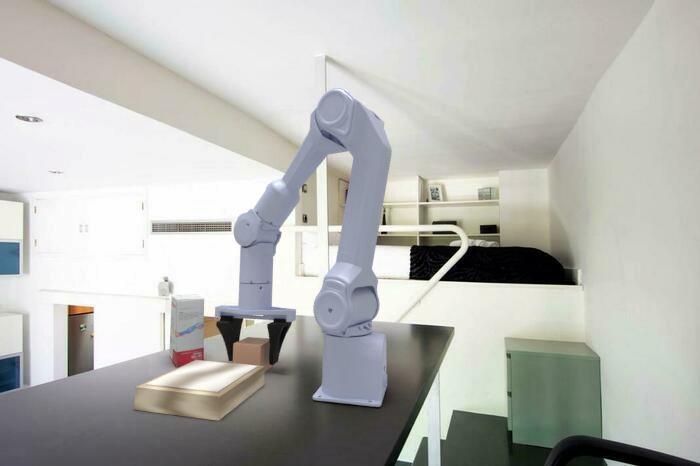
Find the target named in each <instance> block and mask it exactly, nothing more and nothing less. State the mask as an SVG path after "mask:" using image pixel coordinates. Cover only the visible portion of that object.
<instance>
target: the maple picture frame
mask: <svg viewBox="0 0 700 466" xmlns="http://www.w3.org/2000/svg"><path fill="white" fill-rule="evenodd" d="M264 371H265V366H258V365H247V364H235V363H233V362H224V361H223V362H222V361H214V360H213V361H212V360H204V361H202V360H195V361H193V362H190V363H188V364H186V365H184V366H179V367H177V368H175V369H173V370H171V371H168V372H166V373H164V374H162V375H161V374H160V375H158V376H157V377H155V378H152V379H151V380H148V381H147V382H143V383H142V384H140V385H136V386H135V388H134V403H133V405H134V407H133V410H134V411H141V412H149V413H154V414H155V413H156V414H165V415H172V416H178V417H179V416H180V417H187V418H196V419H202V420H211V421H217V422H218V421H220V420H222V419H223V418H225V416H227V415H228V414H229V413H230V412H232V411H233V410H234V409H235V408H237V407H238V406H240V405H241V404H242V403H243V402H244V401H246V400H247V399H248V398H249V397H251V396H252V395H254V393H256V392H257V391H258V390H259V389H261V388H262V387H264V386H265V373H264Z"/></svg>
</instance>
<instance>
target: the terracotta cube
mask: <svg viewBox="0 0 700 466" xmlns="http://www.w3.org/2000/svg"><path fill="white" fill-rule="evenodd" d="M269 349H270V344H269V337H268V338H266V337H254V336H247V337H245V338H243V339H240V340H239V341H238V342H236V343H234V344H233V361H232V363H235V364H247V365H258V366H265V371H264V374H265V373H266V372H268V370H270V369H272V368H273V367H274V365H269Z"/></svg>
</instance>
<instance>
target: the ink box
mask: <svg viewBox="0 0 700 466" xmlns="http://www.w3.org/2000/svg"><path fill="white" fill-rule="evenodd" d="M170 305H171V306H170V329H169V331H170V333H169V357H170V359H171V361H172V363H174V366H175V367H177V368H179V367H181V366H184V365H186V364H188V363H190V362H193V361H195V360H202V361H205V353H204V351H205V342H204V341H205V339H204V338H205V331H204V330H205V298H204V297H202V296H200V295H199V294H195V293H194V294H178V295H177V294H176V295H171V304H170Z"/></svg>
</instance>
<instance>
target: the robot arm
mask: <svg viewBox="0 0 700 466" xmlns="http://www.w3.org/2000/svg"><path fill="white" fill-rule="evenodd" d="M309 119H310V120H309V131H308V132H307V134H306V136H305V138H304V140H303V141H302V143H301V144H300V146H299V148H298V150H297V152H296V153H295V155H294V157H293V158H292V161H291V162H290V164H289V166H288V167H287V169H286V171H285V172H284V175H283V176H282V177H281V178H277V179H273V180H271V182H270V183H268V184H267V186H266V188H265V190H264V192H263V194H262V195H261V196H260V198H259V199H258V201H257V203H256V204H255V205H254V207H253V208H249V210H248V211H247V212H242V213H241V214H239V216H238V217H237V219H236V221H235V223H234V226H233V236H234V240H235V243H236V244H238V245H239V246H240V252H239V253H240V254H239V276H238V277H239V280H238V284H239V285H238V300H237V301H238V305H227V304H226V305H225V304H224V305H222V304H220V305H216V306H214V318H216V319H219V320H218V321H217V320H216V322H215V325H216V328H217V330H218V331H219V333H220V336H221V337H222V339H223V342H224V345H225V351H226V355H227V359H228V362H233V344H234V343H236V342H238V341H240V340H241V330H242V326H243V322H244V319H248V320H262V321H263V320H264V321H272V322H269V323H267V324H266V328H267V332H268V333H267V334H268V338H269V344H270V349H269V365H273V366H274V365H276V364H277V363H278V362H279V358H280V354H281V350H282V346H283V343H284V341H285V338H286V335H287V333H288V332H289V329H290V328H291V326H292V324H293V322H294V321H295V322H296V320H297V319H296V317H297V308H287V307H278V306H273V282H274V281H273V279H274V278H273V276H274V257H275V255H276V254H277V253H276V252H277V245H278V244H279V242H280V241H281V237H282V231H280V229H281V228H282V227H283V225H284V224H285V222H286V220H287V219H288V218H289V217H290V215H291V214H292V212H293V211H294V209H296V206H297V205H298V204H299V203H300V202H301V201H300V200H301V196H300V194H301V193H300V189H302V187H303V186H304V184H305V183H306V182H307V181H308V180H309V179H310V177H311V176H312V175H313V174H314V173H315V171H316V170H317V169H318V167H319V166H320V165H321V164H322V163H323V162H324V160H326V158H327V157H328V156H329V155H333V154H340V153H347V152H349V154H350V155H351V156H352V165H351V170H350V177H349V181H348V182H349V183H348V188H347V193H346V194H347V195H346V199H345V205H344V211H343V218H342V224H341V230H340V234H339V235H340V236H339V242H338V248H337V252H336V253H337V254H336V260H335V264H334V265H332V267H331V268H330V269H329V271H328V272H327V273H326V274H325V275H324V277H323V280H322V285H321V288H320V290H319V292H318V293H317V295H316V296H315V299H314V301H313V305H312V306H313V309H312V311H313V316H314V320H315V321H316V324H317V326H319V328H320V329H321V330H320V332H321V334H322V367H321V369H322V370H321V371H322V373H321V376H322V377H321V386H319V388H318V389H317V390H316V392H314V394H313V395H312V400H313V401H320V402H328V403H337V404H347V405H349V404H350V405H357V406H364V407H365V406H367V407H373V408H374V407H376V408H380V407H381V406H382V404H383V400H384V397H385V392H386V390H387V386H388V373H387V365H388V364H387V363H388V362H387V359H388V357H387V346H388V345H387V335H386V334H385V333H378V332H374V331H373V321H374V319H376V317H377V316H378V314H379V311H380V298H379V295H378V294H379V293H378V285H379V280H378V278H377V275H376V274H375V272H374V269H373V265H374V258H375V253H376V246H377V242H378V235H379V231H380V224H381V219H382V213H383V207H384V201H385V200H384V199H385V196H386V189H387V182H388V177H389V173H390V172H389V171H390V167H391V166H390V165H391V161H392V160H391V159H392V155H393V154H392V151H393V150H392V146H391V144H390V140H389V138H388V135H387V133H386V130H385V127H384V126H385V122H384V120H383V119H382V118H380V116H379V115H377V113H376V112H374V111H373V110H372V109H369V108H368V107H367V106H366V105H364V104H363V103H362V102H360V101H359V100H358V99H357V98H356V97H355V96H354V95H353V94H352V93H351V92H350V91H348V90H347V89H346V88H344V87H334V88H331V89H329V90H327V91H326V92H325V93H324V94H323V95H322V96H321V98H320V99H319V100H318V103H317V106H316V108H314V110H313V111H311V113H310V118H309Z"/></svg>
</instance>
